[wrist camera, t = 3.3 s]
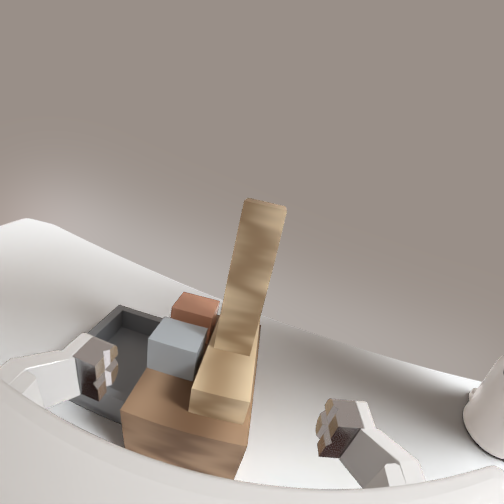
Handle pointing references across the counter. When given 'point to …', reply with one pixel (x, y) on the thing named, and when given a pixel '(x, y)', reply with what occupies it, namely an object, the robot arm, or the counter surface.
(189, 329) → the pale blue-grey cube
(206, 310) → the salmon orange block
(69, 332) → the counter surface
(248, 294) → the wooden inverted t block
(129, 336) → the bin
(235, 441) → the wide wooden plinth
